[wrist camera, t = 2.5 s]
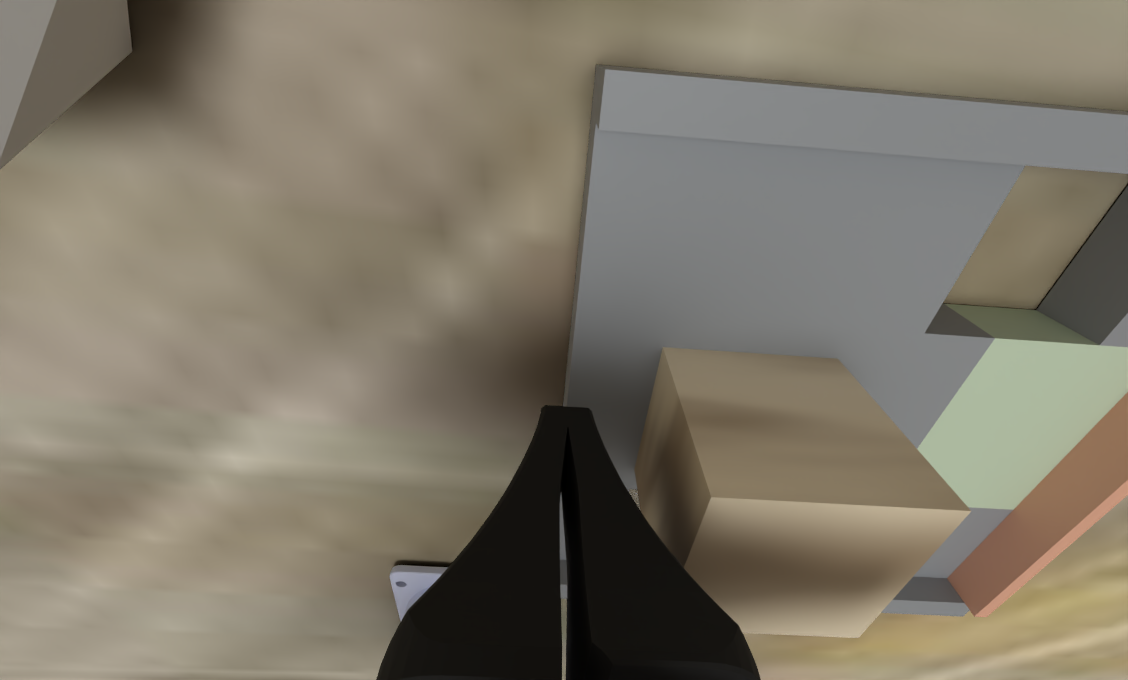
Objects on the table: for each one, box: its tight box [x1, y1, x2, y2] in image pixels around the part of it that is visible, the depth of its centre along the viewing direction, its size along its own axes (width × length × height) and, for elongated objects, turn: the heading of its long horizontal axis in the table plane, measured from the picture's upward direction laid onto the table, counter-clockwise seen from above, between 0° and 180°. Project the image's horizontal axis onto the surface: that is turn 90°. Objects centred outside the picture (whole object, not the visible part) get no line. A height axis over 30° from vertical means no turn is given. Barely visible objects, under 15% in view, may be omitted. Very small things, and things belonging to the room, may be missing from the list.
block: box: [634, 347, 971, 638], centre depth 12 cm, size 5×5×5 cm
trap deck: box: [560, 65, 1128, 617], centre depth 14 cm, size 18×17×4 cm
